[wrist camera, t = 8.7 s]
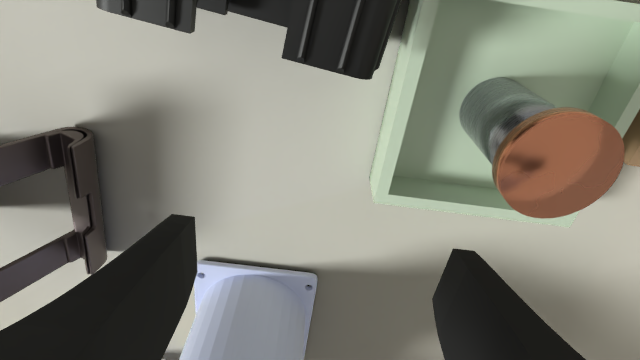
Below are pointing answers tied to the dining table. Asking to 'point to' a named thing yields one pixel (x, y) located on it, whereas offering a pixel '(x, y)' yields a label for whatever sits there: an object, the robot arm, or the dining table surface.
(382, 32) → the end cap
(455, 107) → the tray
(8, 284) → the portable electronic device stand
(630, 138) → the pulley block
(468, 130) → the grey brown cylinder
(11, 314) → the dining table surface
